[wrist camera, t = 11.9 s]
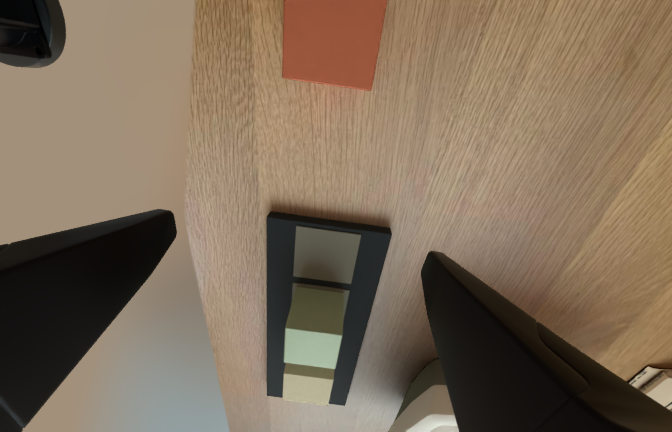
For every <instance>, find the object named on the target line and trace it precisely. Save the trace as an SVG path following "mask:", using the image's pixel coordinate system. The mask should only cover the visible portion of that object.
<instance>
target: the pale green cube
mask: <svg viewBox="0 0 672 432" xmlns="http://www.w3.org/2000/svg"><path fill="white" fill-rule="evenodd" d="M343 308H344V293H339V292H332V291H324V290H317V289H310V288H302V287H296V290H295V293H294V297H293V301H292V304H291V308H290V312H289V315H288V319H287V323H286V326H285V342H284V363H292V364H300V365H307V366H315V367H323V368H330V369H335V368H336V364H337V359H338V354H339V350H340V345H341V340H342V335H343Z"/></svg>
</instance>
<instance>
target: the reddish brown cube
mask: <svg viewBox="0 0 672 432" xmlns="http://www.w3.org/2000/svg"><path fill="white" fill-rule="evenodd" d="M386 4H387V0H284V24H283V67H282V77H283V78H285V79H292V80H299V81H306V82H312V83H319V84H326V85H333V86H340V87H347V88H354V89H361V90H368V91H371V90H372V85H373V79H374V73H375V68H376V62H377V56H378V50H379V45H380V39H381V33H382V27H383V22H384V16H385V10H386Z"/></svg>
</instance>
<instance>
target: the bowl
mask: <svg viewBox="0 0 672 432" xmlns="http://www.w3.org/2000/svg"><path fill="white" fill-rule="evenodd" d="M388 432H459V430H458V426H457V423H456V419H455V415H454V412H453V408H452V404H451V401H450V397H449V393H448V390H447V386H446V382H445V379H444V375H443V371H442V367H441V364H440V360H439V359H435V360H433V361H432V362H431V363H430V364H429V365H427V366H426V367H425V368H424V369H423V370H422V371H421V372H420V373H419V375H418V376H417V377H416V378H415V379H414V381H413V382H412V383H411V385H410V387H409V389H408V391H407V393H406V396H405V398H404V400H403V403H402V405H401V407H400V410H399V412H398V414H397V417H396V419H395V421H394V423H393V425H392V426H391V428H390V430H389V431H388Z"/></svg>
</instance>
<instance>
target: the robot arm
mask: <svg viewBox="0 0 672 432" xmlns="http://www.w3.org/2000/svg"><path fill="white" fill-rule="evenodd" d="M41 50H42V52H41ZM0 53H4V54H11V55H18V56H25V57H32V58H39V59H51V58H52V52H51V49H50V47H49V44H48V41H47V38H46V35H45V32H44V29H43V26H42V23H41V20H40V17H39V14H38V11H37V8H36V5H35V3H34V0H0ZM176 234H177V231H176V224H175V219H174V214H173V213H172V212H171V211H169V210H162V209H157V210H153V211H148V212H143V213H139V214H135V215H130V216H126V217H122V218H118V219H113V220H109V221H104V222H100V223H96V224H91V225H87V226H82V227H79V228H74V229H70V230H65V231H61V232H56V233H52V234H48V235H43V236H39V237H35V238H30V239H26V240H22V241H17V242H13V243H11V244H4V245H0V432H22V430H23V429H22V428H25V427H26V425H27V424H28V423H29V422H30V421H31V419H32V418H33V417H34V416H35V415H36V413H37V412H38V411H39V410H40V409H41V407H42V406H43V405H44V404H45V402H46V401H47V400H48V399H49V398H50V396H51V395H52V394H53V393H54V392H55V390H56V389H57V388H58V387H59V386H60V384H61V383H62V382H63V381H64V379H65V378H66V377H67V376H68V375H69V373H70V372H71V371H72V370H73V369H74V367H75V366H76V365H77V364H78V362H79V361H80V360H81V359H82V357H83V356H84V355H85V354H86V353H87V352H88V350H89V349H90V348H91V347H92V346H93V344H94V343H95V342H96V341H97V339H98V338H99V337H100V336H101V334H102V333H103V332H104V331H105V330H106V328H107V327H108V326H109V325H110V324H111V323H112V321H113V320H114V319H115V318H116V316H117V315H118V314H119V313H120V312H121V310H122V309H123V308H124V307H125V306H126V304H127V303H128V302H129V301H130V300H131V298H132V297H133V296H134V295H135V293H136V292H137V291H138V290H139V289H140V287H141V286H142V285H143V284H144V283H145V281H146V280H147V279H148V277H149V276H150V275H151V274H152V272H153V271H154V269H155V268H156V266H157V265H158V264H159V262H160V261H161V259H162V258H163V256H164V255H165V253H166V251H167V250H168V248H169V247H170V245H171V244H172V242H173V241H174V239H175V238H176ZM421 278H422V285H423V291H424V298H425V305H426V310H427V315H428V319H429V323H430V327H431V331H432V334H433V338H434V342H435V345H436V349H437V353H438V356H439V360H440V364H441V367H442V371H443V375H444V379H445V382H446V386H447V390H448V393H449V397H450V401H451V404H452V408H453V412H454V415H455V419H456V423H457V426H458V430H459V432H672V411H671V410H669V409H667V408H666V407H664V406H663V405H661V404H660V403H658V402H657V401H655V400H654V399H652V398H650V397H649V396H647V395H646V394H644V393H643V392H641V391H640V390H638V389H637V388H635V387H634V386H632V385H631V384H629V383H628V382H626V381H625V380H623V379H622V378H620V377H618V376H617V375H615V374H614V373H612V372H611V371H609V370H608V369H606V368H605V367H603V366H602V365H600V364H599V363H597V362H596V361H594V360H593V359H591V358H590V357H588V356H587V355H585V354H584V353H582V352H581V351H579V350H578V349H576V348H575V347H573V346H572V345H570V344H569V343H568V342H566V341H565V340H563V339H562V338H560V337H559V336H558V335H556V334H555V333H553V332H552V331H550V330H549V329H548V328H546V327H545V326H544V325H542V324H541V323H539V322H536V320H535V319H534V318H532V317H531V316H530V315H528V314H527V313H525V312H524V311H523V310H521V309H520V308H518V307H517V306H516V305H514V304H513V303H511V302H510V301H509V300H507V299H506V298H504V297H503V296H502V295H500V294H499V293H498V292H496V291H495V290H493V289H492V288H491V287H489V286H488V285H486V284H485V283H484V282H482V281H481V280H479V279H478V278H477V277H475V276H474V275H472V274H471V273H470V272H468V271H467V270H465V269H464V268H463V267H461V266H460V265H459V264H457V263H456V262H454V261H453V260H452V259H450V258H449V257H447V256H446V255H445V254H443V253H441V252H436V251H430V252H429V253H428V255H427V257H426V259H425V262H424V264H423V267H422V270H421Z"/></svg>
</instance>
